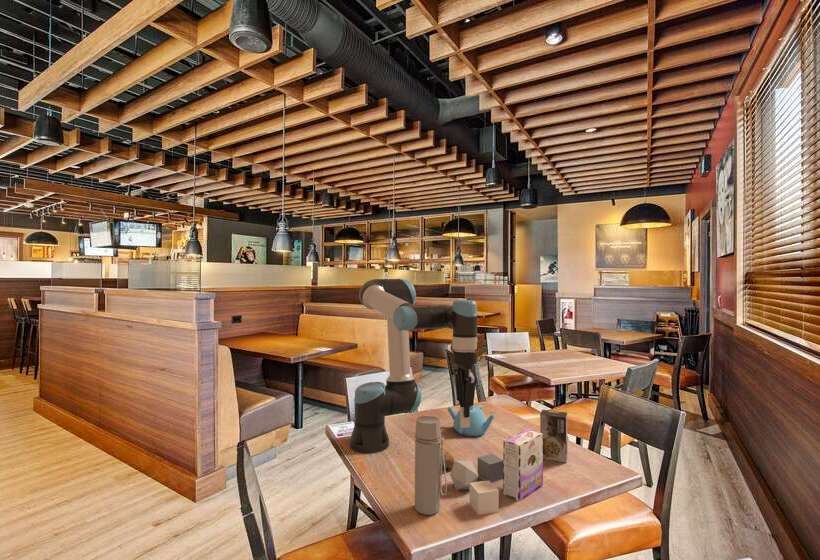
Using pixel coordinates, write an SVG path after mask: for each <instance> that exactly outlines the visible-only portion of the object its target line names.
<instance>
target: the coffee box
mask: <svg viewBox="0 0 820 560" xmlns="http://www.w3.org/2000/svg"><path fill="white" fill-rule="evenodd" d="M539 428H540V429H539V430H540V431H539V433H542V434H543V460H547V461H555V462H560V463H568V457H569V456H568V455H569V454H568V447H569V446H568V412H566V411H557V410H550V409H541V412H540V413H539Z"/></svg>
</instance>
